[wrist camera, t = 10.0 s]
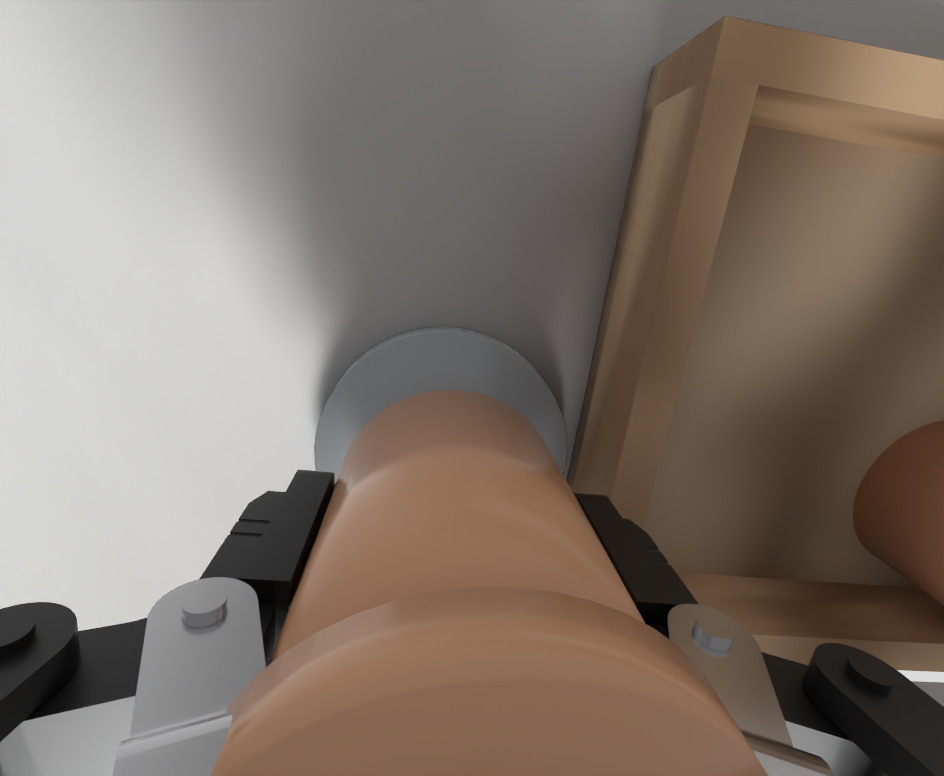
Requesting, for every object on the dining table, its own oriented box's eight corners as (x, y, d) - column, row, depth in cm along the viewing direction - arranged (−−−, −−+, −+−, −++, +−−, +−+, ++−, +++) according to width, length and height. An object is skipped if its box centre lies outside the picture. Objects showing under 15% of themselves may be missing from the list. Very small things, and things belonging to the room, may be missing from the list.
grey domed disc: (578, 341, 14) (589, 349, 14) (537, 552, 16) (544, 572, 16) (328, 312, 14) (320, 318, 13) (316, 537, 16) (308, 557, 15)
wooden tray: (1184, 167, 14) (1386, 151, 11) (968, 604, 19) (1072, 677, 16) (653, 67, 13) (725, 15, 9) (546, 579, 17) (573, 656, 14)
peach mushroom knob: (589, 391, 12) (890, 692, 4) (545, 600, 13) (702, 1093, 6) (332, 363, 11) (116, 662, 3) (319, 587, 13) (154, 1129, 5)
